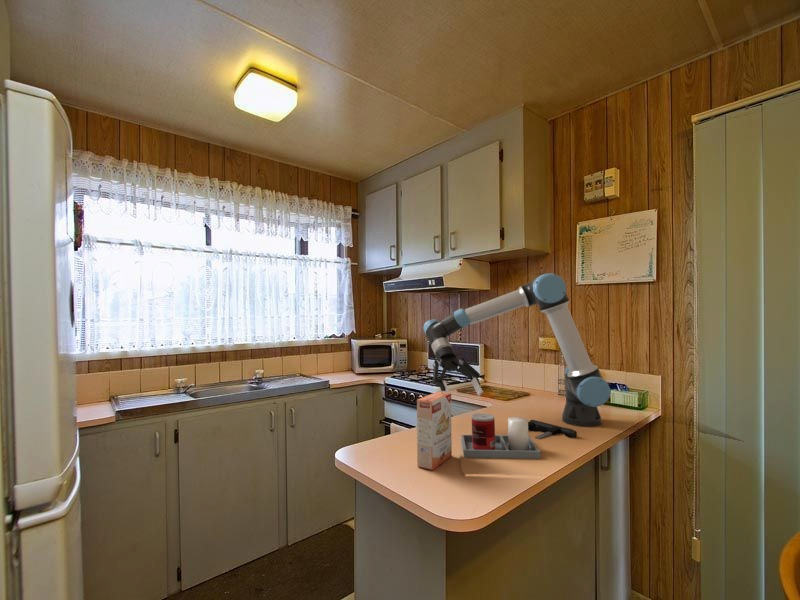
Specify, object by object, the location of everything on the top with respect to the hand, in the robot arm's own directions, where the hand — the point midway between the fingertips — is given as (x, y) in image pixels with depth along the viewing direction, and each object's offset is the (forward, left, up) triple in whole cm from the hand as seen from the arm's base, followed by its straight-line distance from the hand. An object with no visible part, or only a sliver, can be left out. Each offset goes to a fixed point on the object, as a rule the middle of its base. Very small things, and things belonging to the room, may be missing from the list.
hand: (465, 395), depth 141 cm
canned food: (-5, +9, -16) cm, 19 cm away
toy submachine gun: (-30, -10, -17) cm, 36 cm away
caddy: (-10, +10, -17) cm, 22 cm away
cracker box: (+11, +20, -17) cm, 28 cm away
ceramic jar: (-17, +10, -16) cm, 25 cm away
